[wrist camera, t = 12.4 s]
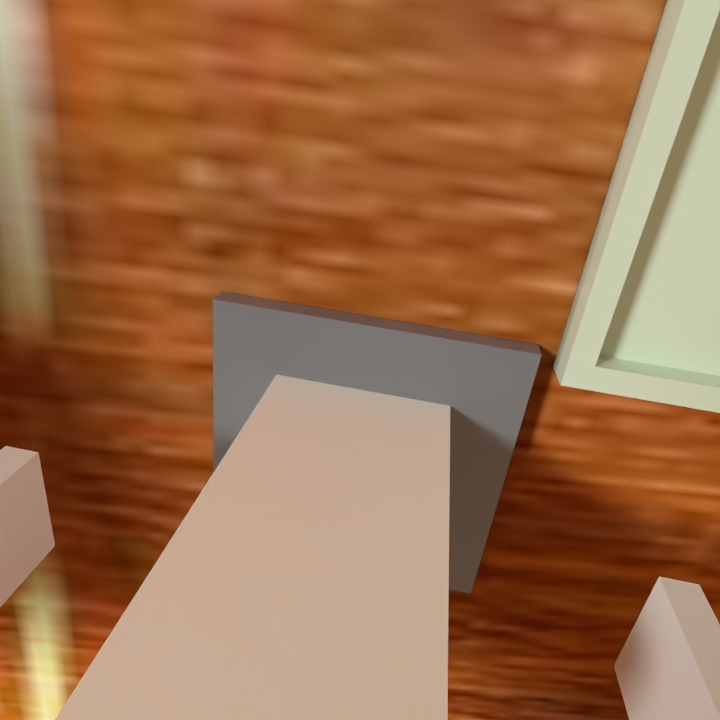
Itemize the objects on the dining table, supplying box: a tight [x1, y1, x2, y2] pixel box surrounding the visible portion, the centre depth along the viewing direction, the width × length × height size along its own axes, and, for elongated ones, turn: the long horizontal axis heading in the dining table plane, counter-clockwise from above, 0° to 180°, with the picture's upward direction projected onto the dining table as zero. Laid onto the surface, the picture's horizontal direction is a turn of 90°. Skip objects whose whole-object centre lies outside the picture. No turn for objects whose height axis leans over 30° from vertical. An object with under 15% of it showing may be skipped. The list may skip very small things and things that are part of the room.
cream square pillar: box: [55, 375, 450, 720], centre depth 11 cm, size 5×5×9 cm
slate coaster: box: [213, 292, 542, 594], centre depth 15 cm, size 8×8×1 cm
